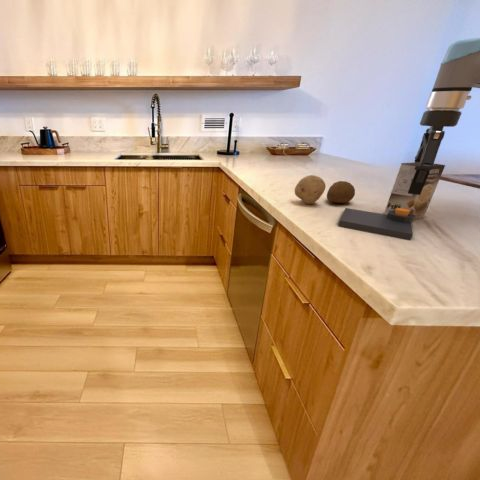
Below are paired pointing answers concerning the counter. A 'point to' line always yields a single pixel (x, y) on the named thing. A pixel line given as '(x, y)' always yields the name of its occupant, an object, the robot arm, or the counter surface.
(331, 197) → the potato
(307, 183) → the light tan potato
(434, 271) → the counter surface
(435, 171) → the coffee box
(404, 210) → the tare button
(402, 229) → the scale
